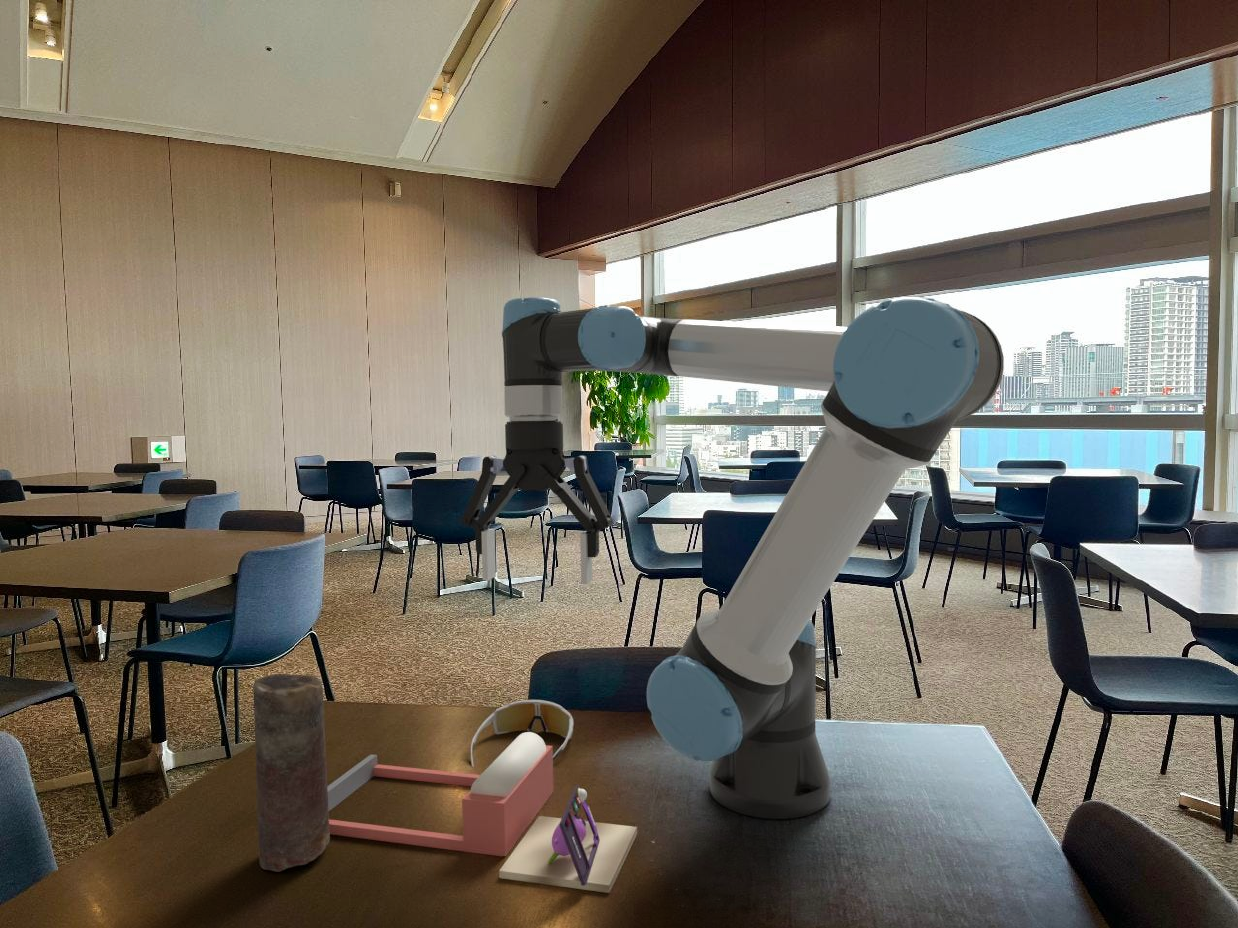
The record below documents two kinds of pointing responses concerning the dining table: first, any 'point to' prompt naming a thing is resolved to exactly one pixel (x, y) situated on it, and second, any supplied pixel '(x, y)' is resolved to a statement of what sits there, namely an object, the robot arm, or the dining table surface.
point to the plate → (569, 856)
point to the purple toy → (575, 835)
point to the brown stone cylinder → (290, 770)
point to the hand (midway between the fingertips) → (537, 580)
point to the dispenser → (465, 799)
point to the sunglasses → (530, 720)
